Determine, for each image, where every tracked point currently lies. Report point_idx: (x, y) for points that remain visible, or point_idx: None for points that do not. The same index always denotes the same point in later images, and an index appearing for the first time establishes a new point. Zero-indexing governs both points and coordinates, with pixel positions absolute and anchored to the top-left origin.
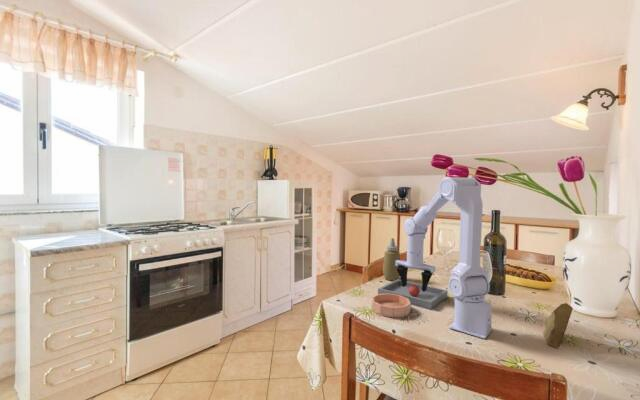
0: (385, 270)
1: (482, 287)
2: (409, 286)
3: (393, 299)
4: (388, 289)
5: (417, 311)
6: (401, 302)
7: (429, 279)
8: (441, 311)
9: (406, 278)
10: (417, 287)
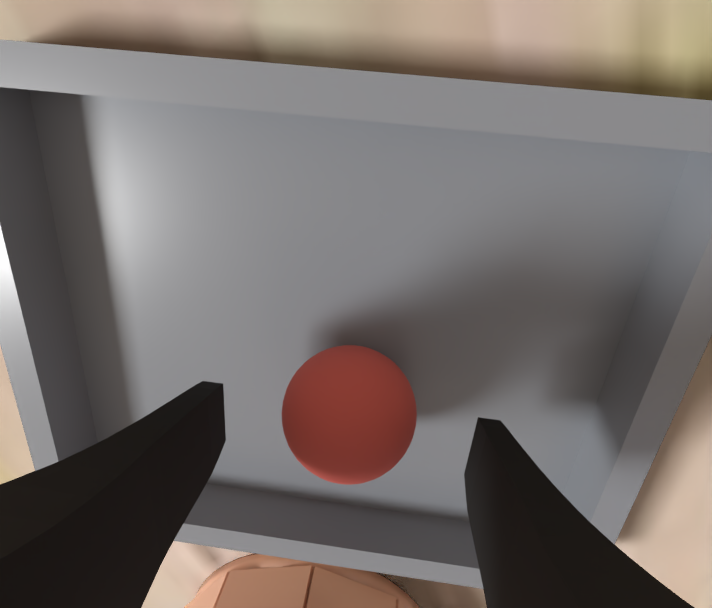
0: None
1: None
2: (179, 105)
3: (269, 593)
4: (76, 362)
5: (473, 596)
6: (339, 594)
7: (608, 555)
8: (649, 532)
9: (170, 442)
10: (391, 457)
